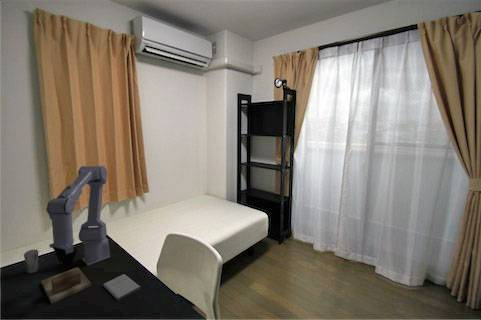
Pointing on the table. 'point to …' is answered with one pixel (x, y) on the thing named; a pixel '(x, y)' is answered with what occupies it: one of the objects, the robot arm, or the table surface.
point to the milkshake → (31, 260)
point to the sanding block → (65, 281)
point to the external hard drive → (121, 287)
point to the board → (55, 297)
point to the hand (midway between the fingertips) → (65, 264)
